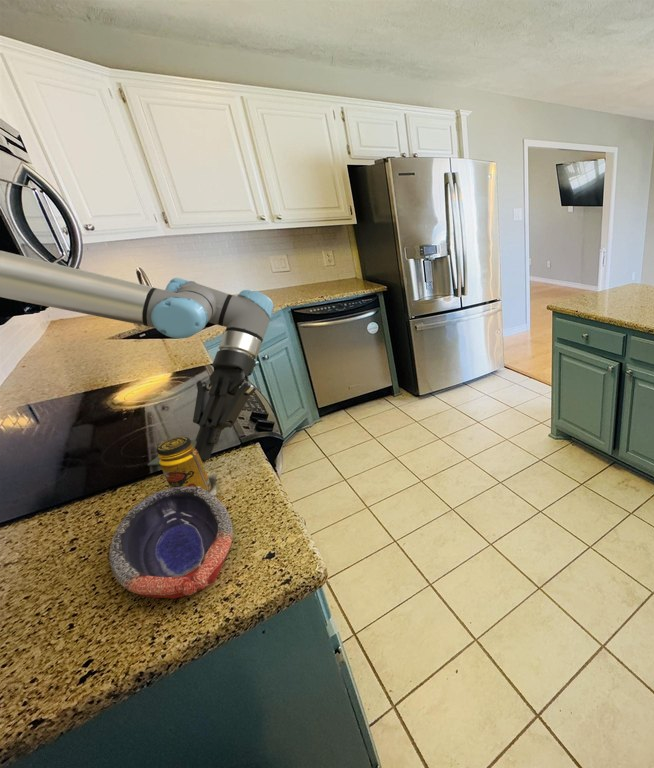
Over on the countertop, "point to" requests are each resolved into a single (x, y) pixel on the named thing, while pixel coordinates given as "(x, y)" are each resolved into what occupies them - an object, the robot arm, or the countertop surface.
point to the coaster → (157, 459)
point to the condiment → (184, 465)
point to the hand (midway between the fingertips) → (200, 458)
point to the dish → (171, 543)
